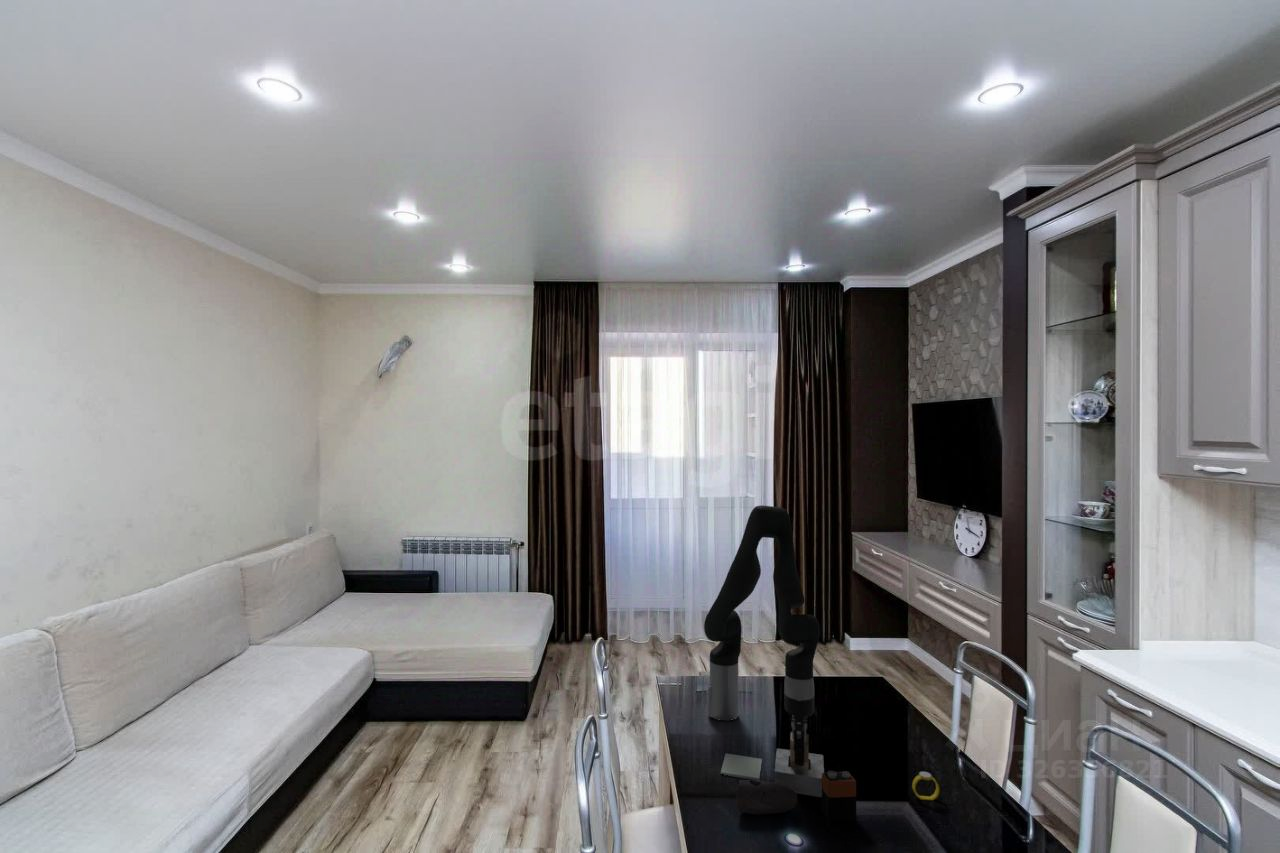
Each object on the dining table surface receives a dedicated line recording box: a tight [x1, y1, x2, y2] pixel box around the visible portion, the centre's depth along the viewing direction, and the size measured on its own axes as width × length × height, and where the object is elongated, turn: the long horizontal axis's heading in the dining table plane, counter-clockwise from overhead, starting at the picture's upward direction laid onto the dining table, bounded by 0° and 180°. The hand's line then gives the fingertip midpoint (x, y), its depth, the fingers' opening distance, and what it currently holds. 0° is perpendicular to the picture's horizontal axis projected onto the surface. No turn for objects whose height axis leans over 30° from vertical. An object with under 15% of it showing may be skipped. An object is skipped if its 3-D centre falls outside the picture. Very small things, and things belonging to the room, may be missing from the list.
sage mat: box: [720, 753, 763, 781], centre depth 157 cm, size 10×10×1 cm
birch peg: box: [789, 731, 810, 770], centre depth 151 cm, size 4×4×11 cm
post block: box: [773, 748, 825, 798], centre depth 151 cm, size 12×12×4 cm
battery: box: [821, 770, 857, 823], centre depth 137 cm, size 4×7×10 cm, turn 95°
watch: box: [911, 771, 940, 801], centre depth 144 cm, size 6×3×6 cm, turn 84°
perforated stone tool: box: [735, 779, 799, 816], centre depth 138 cm, size 15×5×7 cm, turn 90°
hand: (799, 759), depth 151 cm, fingers closed on birch peg, 4 cm apart
